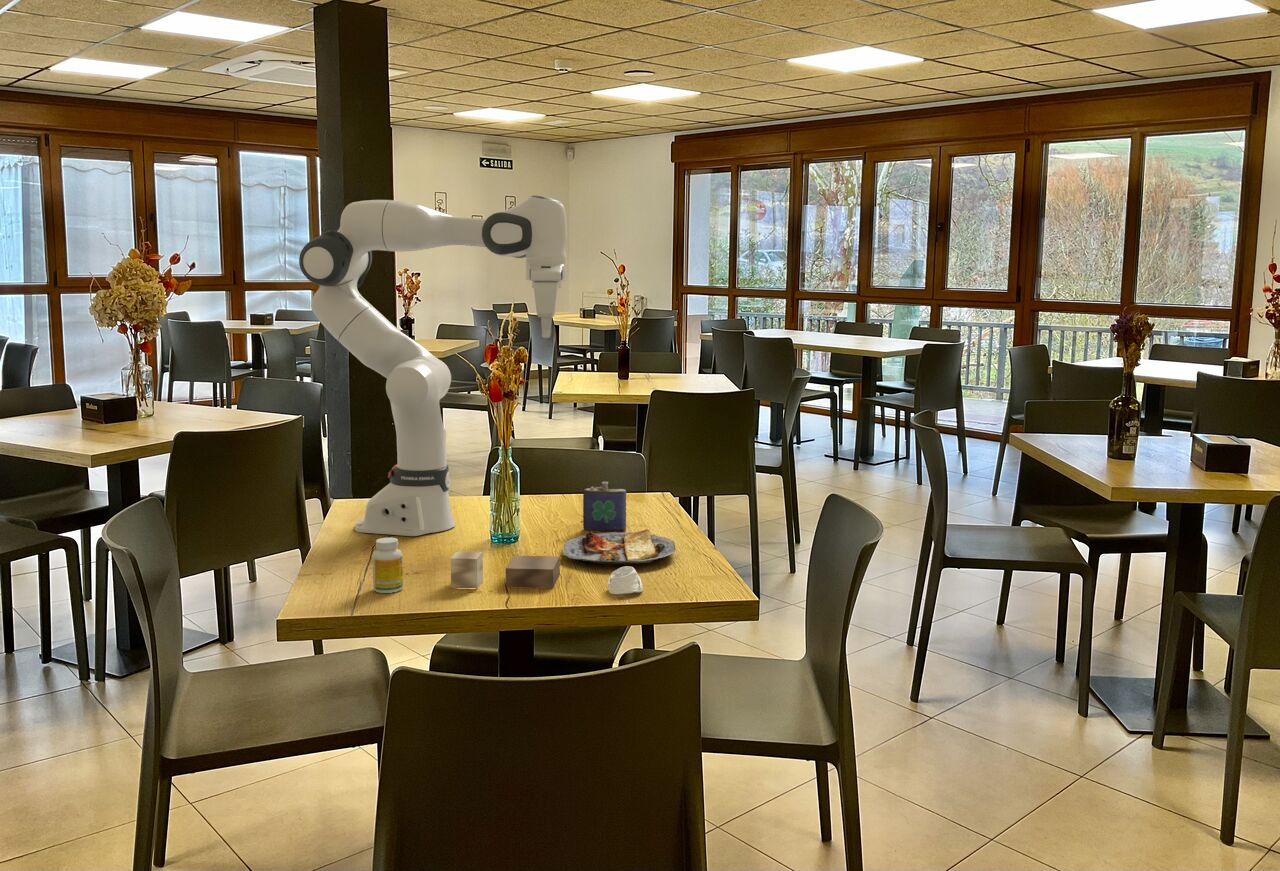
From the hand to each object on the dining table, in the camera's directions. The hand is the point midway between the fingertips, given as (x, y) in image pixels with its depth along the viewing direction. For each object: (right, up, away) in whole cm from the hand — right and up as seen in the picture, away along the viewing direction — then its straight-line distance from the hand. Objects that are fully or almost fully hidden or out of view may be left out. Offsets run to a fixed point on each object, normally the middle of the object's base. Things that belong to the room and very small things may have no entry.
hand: (546, 336), depth 233 cm
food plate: (+16, -47, -9) cm, 51 cm away
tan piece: (-12, -50, -31) cm, 60 cm away
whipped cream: (+18, -51, -34) cm, 64 cm away
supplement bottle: (-26, -51, -34) cm, 67 cm away
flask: (+12, -44, +11) cm, 47 cm away
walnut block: (0, -50, -28) cm, 57 cm away
